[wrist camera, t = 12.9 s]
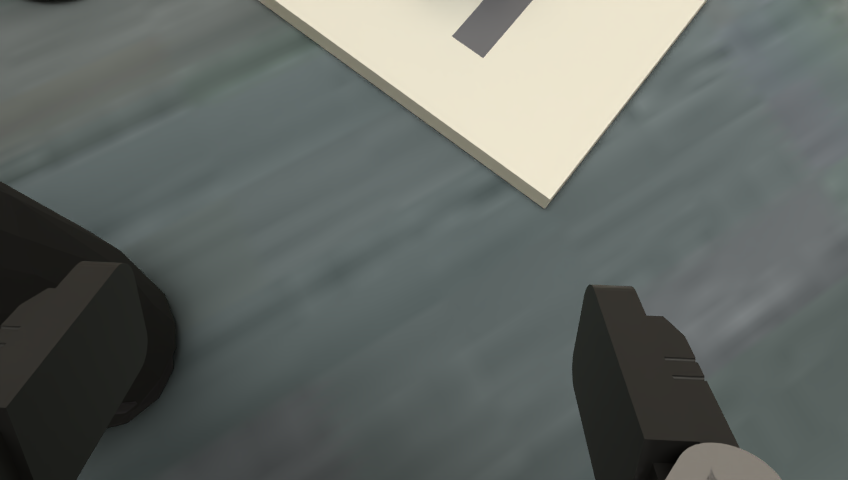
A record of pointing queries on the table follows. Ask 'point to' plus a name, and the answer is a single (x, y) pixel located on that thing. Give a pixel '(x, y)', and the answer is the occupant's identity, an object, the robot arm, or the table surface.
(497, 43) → the letter board
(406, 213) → the table surface
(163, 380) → the portable speaker
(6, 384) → the robot arm
